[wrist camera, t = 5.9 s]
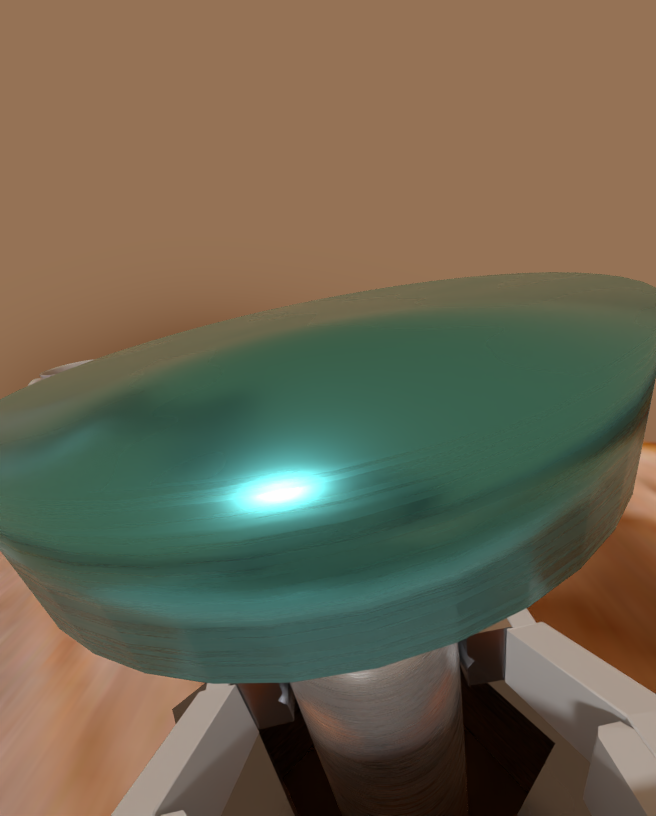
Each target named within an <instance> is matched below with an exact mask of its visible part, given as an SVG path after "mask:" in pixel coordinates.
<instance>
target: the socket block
mask: <svg viewBox="0 0 656 816" xmlns="http://www.w3.org/2000/svg"><path fill="white" fill-rule="evenodd" d="M460 676H461V693H462V709H463V725H464V726H465V727H466V728H467V729H468V730H469V731H470V732H471V733H472V734H473V735H474V736H475V738H476V739H477V740H478V741H479V742H480V743H481V744H482V745H483V746H484V747H485V748H486V749H487V750H488V751H489V752H490V753H491V755H492V756H493V757H494V758H495V759H496V760H497V761H498V762H499V763H500V764H501V765H502V766H503V767H504V768H505V769H506V770H507V771H508V773H509V774H510V775H511V776H512V777H513V778H514V779H515V780H516V781H517V782H518V783H519V784H520V785H521V786H522V787H523V788H524V790H525V791H526V792H527V793H528V796H527V797H526V799H525V801H524V803H523V805H522V807H521V809H520V810H519V812H518V814H517V816H592V815H591V813H590V812H589V810H588V808H587V806H586V804H585V802H584V800H583V795H584V790H585V785H586V781H587V776H588V772H589V767H590V762H589V761H588V760H587V759H586V758H585V757H584V756H583V755H582V754H581V753H580V752H578V751H577V750H576V749H575V748H574V747H573V746H572V745H571V744H570V743H569V742H568V741H567V740H566V739H565V738H564V737H563V736H562V735H561V734H560V733H558V732H557V731H556V730H555V729H554V728H553V727H552V726H551V725H550V724H549V723H548V722H547V721H546V720H545V719H544V718H543V717H542V716H541V715H539V714H538V713H537V712H536V711H535V710H534V709H533V708H532V707H531V706H530V705H529V704H528V703H527V702H526V701H525V700H524V699H523V698H522V697H520V696H519V695H518V694H517V693H516V692H515V691H514V690H513V689H512V688H511V687H510V686H509V685H508V684H507V683H506V682H505V680H500V681H494V682H488V683H482V684H476V685H471V686H469V685H468V683H467V680H466V678H465V675H464V673H463V671H462V668H461V666H460ZM206 686H207V683H205V684H204V685H202V686H201V687H200V688H199V689H197V690H196V691H195V692H193V693H192V694H191V695H190V696H188V697H187V698H186V699H185V700H183V701H182V702H181V703H180V704H178V705H177V706H176V707H175V708H173V709H172V710H173V714H174V718H175V722H176V724H177V722H178V721H179V719H180V718H181V717H182V715H183V714H184V712H185V711H186V710H187V708H188V707H189V705H190V704H191V703H192V701H193V700H194V698H195V697H196V696H197V694H198V693H199V692H200V691H204V690H206ZM258 731H259V734H258V736H257V738H256V740H255V743H254V745H253V747H252V749H251V751H250V753H249V756H248V758H247V760H246V762H245V764H244V766H243V769H242V771H241V773H240V775H239V777H238V780H237V782H236V784H235V786H234V788H233V790H232V793H231V795H230V797H229V799H228V801H227V803H226V806H225V808H224V810H223V812H222V814H221V816H299V815H298V812H297V810H296V808H295V806H294V803H293V801H292V799H291V797H290V794H289V792H288V790H287V787H286V785H285V783H284V781H283V777H284V776H285V775H286V774H287V773H288V772H289V771H290V770H291V769H292V767H293V766H294V765H295V764H296V763H297V762H298V761H299V760H300V759H301V758H302V757H303V756H304V755H305V754H306V753H307V752H308V751H309V749H310V748H311V747H312V746H313V745H314V743H313V741H312V738H311V736H310V733H309V731H308V728H307V725H306V723H305V720H304V718H303V715H302V713H301V710H300V708H299V705H298V703H297V700H296V697H295V701H294V721H293V722H289V723H285V724H281V725H276V726H272V727H268V728H264V729H260V730H258Z"/></svg>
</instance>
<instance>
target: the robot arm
mask: <svg viewBox="0 0 656 816" xmlns="http://www.w3.org/2000/svg"><path fill="white" fill-rule="evenodd" d="M458 643H459V660H460V666H461V668H462V671H463V673H464V675H465V678H466V680H467V683H468V685H469V686H471V685H476V684H482V683H488V682H494V681H500V680H505V682H506V683H507V684H508V685H509V686H510V687H511V688H512V689H513V690H514V691H515V692H516V693H517V694H518V695H519V696H520V697H522V698H523V699H524V700H525V701H526V702H527V703H528V704H529V705H530V706H531V707H532V708H533V709H534V710H535V711H536V712H537V713H538V714H539V715H541V716H542V717H543V718H544V719H545V720H546V721H547V722H548V723H549V724H550V725H551V726H552V727H553V728H554V729H555V730H556V731H557V732H558V733H560V734H561V735H562V736H563V737H564V738H565V739H566V740H567V741H568V742H569V743H570V744H571V745H572V746H573V747H574V748H575V749H576V750H577V751H578V752H580V753H581V754H582V755H583V756H584V757H585V758H586V759H587V760H588V761H589V762H590V767H589V772H588V776H587V781H586V785H585V790H584V795H583V800H584V802H585V804H586V806H587V808H588V810H589V812H590V813H591V815H592V816H656V694H655V693H653V692H652V691H650V690H649V689H647V688H646V687H644V686H642V685H641V684H639V683H638V682H636V681H635V680H633V679H632V678H630V677H628V676H627V675H625V674H624V673H622V672H621V671H619V670H618V669H616V668H614V667H613V666H611V665H610V664H608V663H607V662H605V661H604V660H602V659H600V658H599V657H597V656H596V655H594V654H593V653H591V652H589V651H588V650H586V649H585V648H583V647H582V646H580V645H579V644H577V643H575V642H574V641H572V640H571V639H569V638H568V637H566V636H565V635H563V634H561V633H560V632H558V631H557V630H555V629H554V628H552V627H550V626H549V625H547V624H546V623H544V622H538V623H536V621H535V620H534V618H533V617H532V615H531V614H530V612H529V611H528V609H527V608H526V609H524V610H522V611H520V612H518V613H516V614H514V615H512V616H510V617H508V618H506V619H504V620H502V621H500V622H498V623H496V624H494V625H492V626H490V627H488V628H486V629H484V630H482V631H480V632H478V633H476V634H474V635H472V636H470V637H468V638H466V639H464V640H462V641H460V642H458ZM294 701H295V695H294V692H293V690H292V687H291V685H290V683H230V684H211V683H207V686H206V690H204V691H200V692H199V693H198V694H197V696H196V697H195V698H194V700H193V701H192V703H191V704H190V705H189V707H188V708H187V710H186V711H185V712H184V714H183V715H182V717H181V718H180V719H179V721H178V722H177V724H176V725H175V726H174V728H173V729H172V731H171V732H170V733H169V735H168V736H167V738H166V739H165V740H164V742H163V743H162V745H161V746H160V747H159V749H158V750H157V752H156V753H155V754H154V756H153V757H152V758H151V760H150V761H149V763H148V764H147V765H146V767H145V768H144V770H143V771H142V772H141V774H140V775H139V777H138V778H137V779H136V781H135V782H134V784H133V785H132V786H131V788H130V789H129V791H128V792H127V793H126V795H125V796H124V798H123V799H122V800H121V802H120V803H119V805H118V806H117V807H116V809H115V810H114V812H113V813H112V814H111V816H221V814H222V812H223V810H224V808H225V806H226V803H227V801H228V799H229V797H230V795H231V793H232V790H233V788H234V786H235V784H236V782H237V780H238V777H239V775H240V773H241V771H242V769H243V766H244V764H245V762H246V760H247V758H248V756H249V753H250V751H251V749H252V747H253V745H254V743H255V740H256V738H257V736H258V734H259V731H258V730H260V729H264V728H268V727H272V726H276V725H281V724H285V723H289V722H293V721H294Z"/></svg>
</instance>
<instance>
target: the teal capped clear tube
mask: <svg viewBox="0 0 656 816" xmlns="http://www.w3.org/2000/svg"><path fill="white" fill-rule="evenodd" d="M655 379H656V288H655V287H653V286H651V285H649V284H646V283H644V282H641V281H637V280H633V279H629V278H624V277H618V276H610V275H602V274H589V273H558V272H552V273H551V272H548V273H518V274H501V275H487V276H476V277H465V278H455V279H447V280H438V281H430V282H423V283H415V284H409V285H401V286H394V287H388V288H381V289H375V290H369V291H363V292H357V293H352V294H346V295H340V296H335V297H330V298H324V299H319V300H314V301H309V302H305V303H299V304H295V305H290V306H285V307H281V308H276V309H272V310H268V311H263V312H259V313H254V314H250V315H246V316H242V317H238V318H234V319H230V320H226V321H222V322H218V323H214V324H210V325H206V326H203V327H199V328H195V329H192V330H188V331H184V332H181V333H177V334H174V335H170V336H167V337H163V338H160V339H157V340H153V341H150V342H147V343H143V344H141V345H137V346H134V347H131V348H128V349H125V350H122V351H119V352H116V353H113V354H110V355H107V356H104V357H101V358H98V359H95V360H92V361H89V362H87V363H84V364H81V365H79V366H76V367H73V368H71V369H68V370H65V371H63V372H60V373H58V374H55V375H53V376H50V377H48V378H45V379H43V380H41V381H38V382H36V383H34V384H32V385H29V386H27V387H25V388H23V389H20V390H18V391H16V392H14V393H12V394H10V395H8V396H6V397H4V398H2V399H0V551H1V552H2V553H3V555H4V556H5V557H6V559H7V560H8V561H9V563H10V564H11V565H12V567H13V568H14V569H15V570H16V572H17V573H18V574H19V576H20V577H21V578H22V580H23V581H24V582H25V584H26V585H27V586H28V588H29V589H30V590H31V592H32V593H33V594H34V596H35V597H36V598H37V600H38V601H39V602H40V603H41V605H42V606H43V607H44V609H45V610H46V611H47V613H48V614H49V615H50V617H51V618H52V619H53V621H54V622H55V623H56V625H57V626H58V627H59V629H61V630H62V631H64V632H65V633H66V634H68V635H69V636H70V637H72V638H73V639H75V640H76V641H77V642H79V643H80V644H81V645H83V646H84V647H86V648H87V649H88V650H90V651H91V652H92V653H94V654H96V655H99V656H102V657H104V658H107V659H109V660H112V661H115V662H117V663H120V664H123V665H125V666H128V667H130V668H133V669H136V670H138V671H141V672H143V673H148V674H154V675H160V676H167V677H173V678H179V679H186V680H192V681H198V682H205V683H211V684H230V683H290V685H291V687H292V690H293V692H294V695H295V697H296V700H297V703H298V705H299V708H300V710H301V713H302V715H303V718H304V720H305V723H306V725H307V728H308V731H309V733H310V736H311V738H312V741H313V743H314V746H315V748H316V751H317V754H318V756H319V759H320V761H321V764H322V766H323V769H324V771H325V774H326V776H327V779H328V782H329V784H330V787H331V789H332V792H333V794H334V797H335V799H336V802H337V805H338V807H339V810H340V812H341V815H342V816H469V808H468V792H467V775H466V759H465V742H464V726H463V709H462V693H461V676H460V660H459V643H458V642H460V641H462V640H464V639H466V638H468V637H470V636H472V635H474V634H476V633H478V632H480V631H482V630H484V629H486V628H488V627H490V626H492V625H494V624H496V623H498V622H500V621H502V620H504V619H506V618H508V617H510V616H512V615H514V614H516V613H518V612H520V611H522V610H524V609H526V608H528V607H529V606H531V605H532V604H533V603H535V602H536V601H537V600H539V599H540V598H542V597H543V596H544V595H546V594H547V593H548V592H550V591H551V590H552V589H554V588H555V587H556V586H558V585H559V584H560V583H562V582H563V581H564V580H566V579H567V578H569V577H570V576H571V575H573V574H574V573H575V572H577V571H578V570H579V569H581V567H582V566H583V565H584V564H585V563H586V562H587V561H588V560H589V558H590V557H591V556H592V555H593V554H594V553H595V552H596V551H597V549H598V548H599V547H600V546H601V545H602V544H603V543H604V542H605V540H606V539H607V538H608V537H609V536H610V535H611V534H612V532H613V531H614V530H615V528H616V526H617V524H618V522H619V520H620V518H621V516H622V514H623V512H624V510H625V508H626V506H627V504H628V502H629V500H630V498H631V496H632V494H633V490H634V485H635V480H636V474H637V469H638V464H639V459H640V454H641V449H642V444H643V439H644V434H645V429H646V424H647V419H648V414H649V409H650V404H651V399H652V394H653V389H654V384H655Z"/></svg>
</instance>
